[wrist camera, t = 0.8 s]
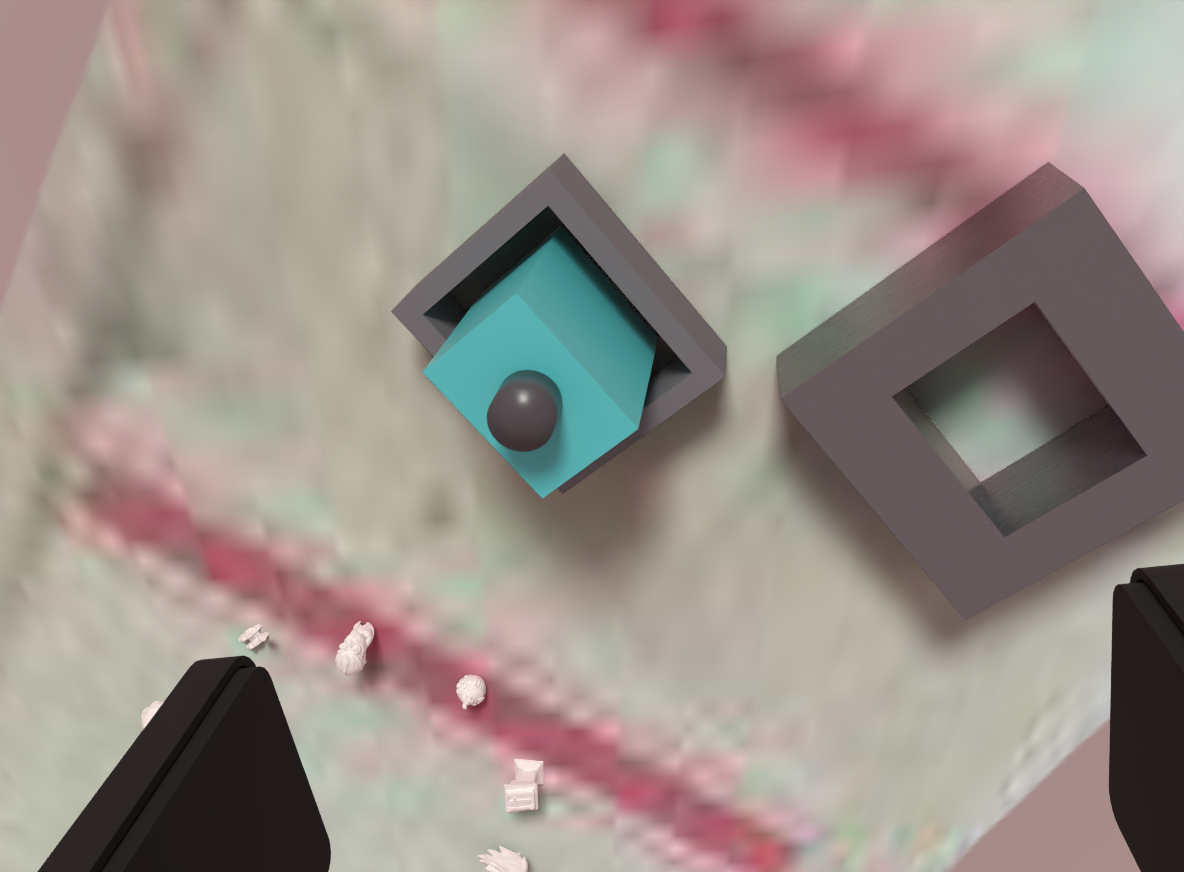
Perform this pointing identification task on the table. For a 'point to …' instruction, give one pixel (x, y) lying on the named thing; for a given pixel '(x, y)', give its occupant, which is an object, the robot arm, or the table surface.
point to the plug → (549, 364)
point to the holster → (623, 261)
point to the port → (959, 318)
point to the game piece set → (523, 791)
